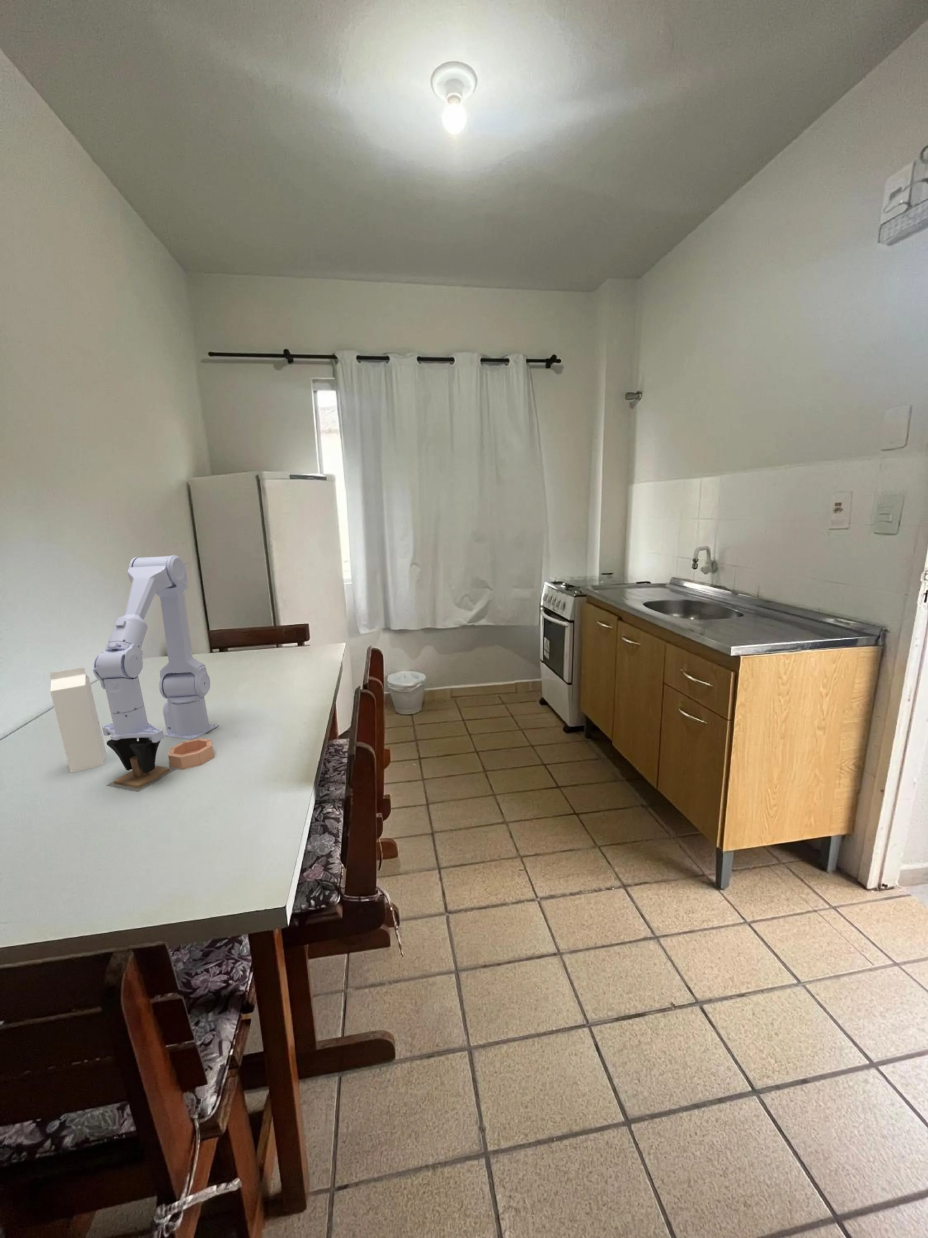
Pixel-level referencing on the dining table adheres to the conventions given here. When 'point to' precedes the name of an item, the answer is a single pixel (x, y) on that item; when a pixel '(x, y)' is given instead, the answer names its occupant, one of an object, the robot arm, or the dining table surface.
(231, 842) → the dining table surface
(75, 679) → the milk
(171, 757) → the octagonal copper pot
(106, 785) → the mat
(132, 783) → the lid
